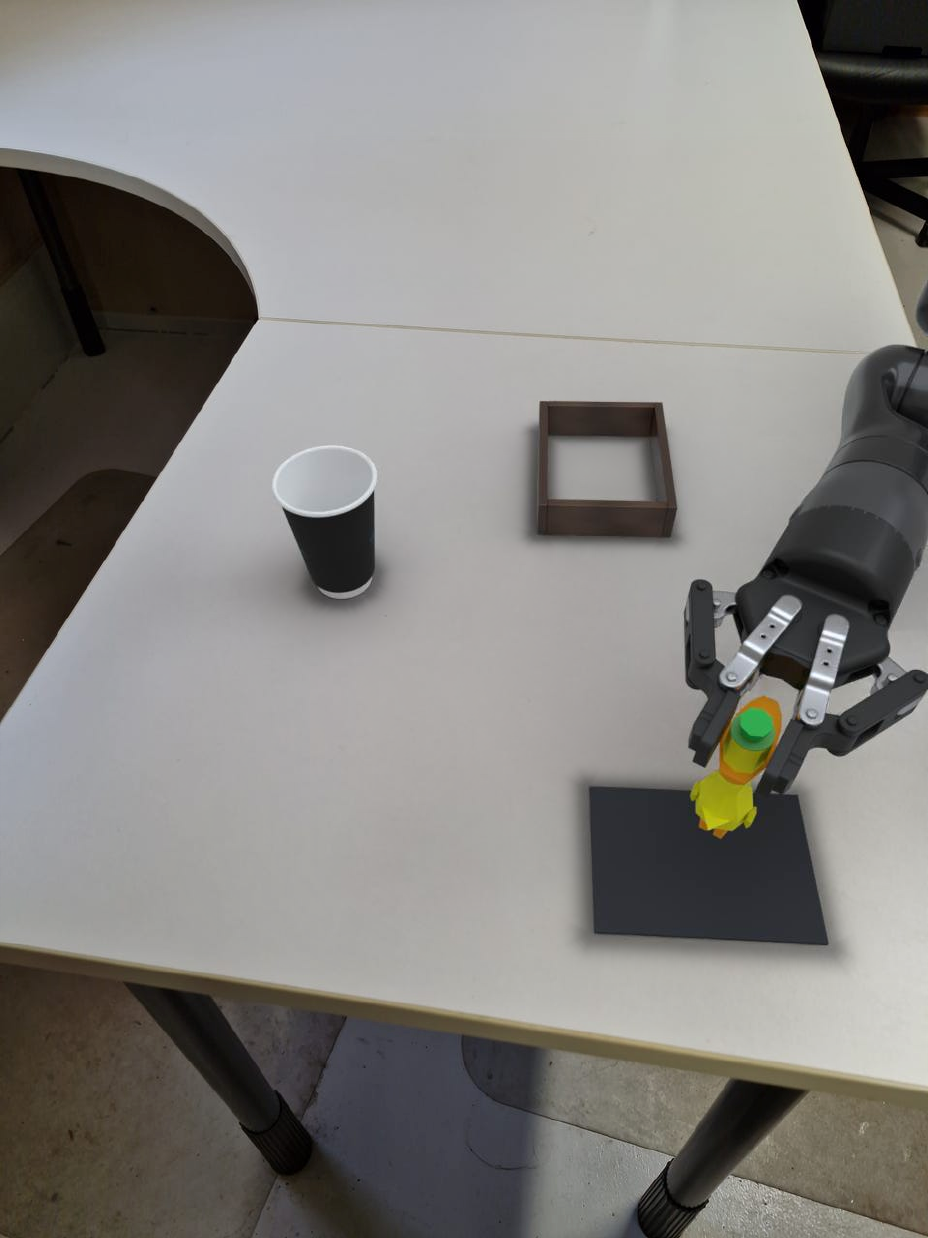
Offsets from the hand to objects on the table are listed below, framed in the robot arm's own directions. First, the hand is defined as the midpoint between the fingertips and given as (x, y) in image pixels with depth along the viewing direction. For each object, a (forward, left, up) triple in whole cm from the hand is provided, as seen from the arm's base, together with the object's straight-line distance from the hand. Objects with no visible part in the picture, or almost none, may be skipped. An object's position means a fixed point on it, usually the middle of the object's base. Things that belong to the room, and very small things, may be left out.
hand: (732, 771), depth 42 cm
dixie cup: (+25, -26, -16) cm, 40 cm away
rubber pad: (-2, -2, -16) cm, 16 cm away
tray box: (+3, -39, -16) cm, 42 cm away
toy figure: (-2, -3, -10) cm, 11 cm away
